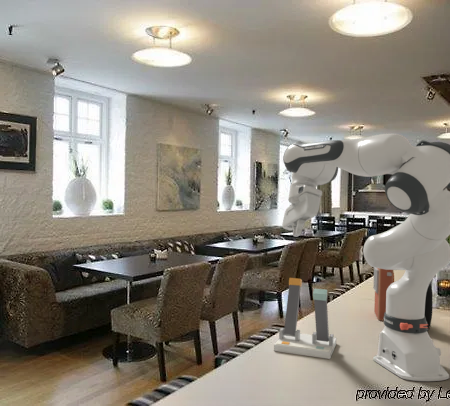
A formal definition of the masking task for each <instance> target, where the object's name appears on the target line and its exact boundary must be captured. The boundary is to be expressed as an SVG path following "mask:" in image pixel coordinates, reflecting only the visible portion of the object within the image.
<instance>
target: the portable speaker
mask: <svg viewBox="0 0 450 406" xmlns="http://www.w3.org/2000/svg"><path fill="white" fill-rule="evenodd" d="M432 289H433V288H432V281H431V282H430V284H429V286H428V289H427V292H426V299H425V314H424V316H425V317H426V321H427V324H428V325H427V327H428V330H427V332H428V331H429V330H430V328H431V324H432V318H433V317H432V316H433V304H434V303H433V299H434V298H433V297H434V296H433V290H432Z"/></svg>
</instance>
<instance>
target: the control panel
mask: <svg viewBox="0 0 450 406" xmlns="http://www.w3.org/2000/svg"><path fill="white" fill-rule="evenodd" d="M393 282H395V270H385V269H380V268H375V267H373V288H372V289H373V290H374V314H375V316H376V319H377V320H378V321H382V322H384V313H385V312H386V291H387V288H388V287H389V286H390V285H391V284H392V283H393Z"/></svg>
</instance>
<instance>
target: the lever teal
mask: <svg viewBox="0 0 450 406" xmlns="http://www.w3.org/2000/svg"><path fill="white" fill-rule="evenodd" d="M312 297H313V298H312V299H313V302H314V303H313V304H314V319H315V330H316V331H315V332H316V335H317V338H316V339H317V340H318V341H326V342H328V341H329V336H330V334H329V333H330V332H329V317H328V312H329V311H328V289H321V288H314V289H313V291H312Z"/></svg>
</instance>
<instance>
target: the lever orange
mask: <svg viewBox="0 0 450 406" xmlns="http://www.w3.org/2000/svg"><path fill="white" fill-rule="evenodd" d="M302 285H303V280H302V279H301V278H297V277H289V279H288V292H287V293H288V294H287V301H286V309H285V310H286V311H285V319H284V321H285V322H284V327H283V328H284V333H283V335H285V336H292V337H295V332H296V331H297V326H298V324H297V323H298V315H299V308H300V307H299V305H300V299H301V298H300V295H301V290H302V289H301V288H302Z"/></svg>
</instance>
